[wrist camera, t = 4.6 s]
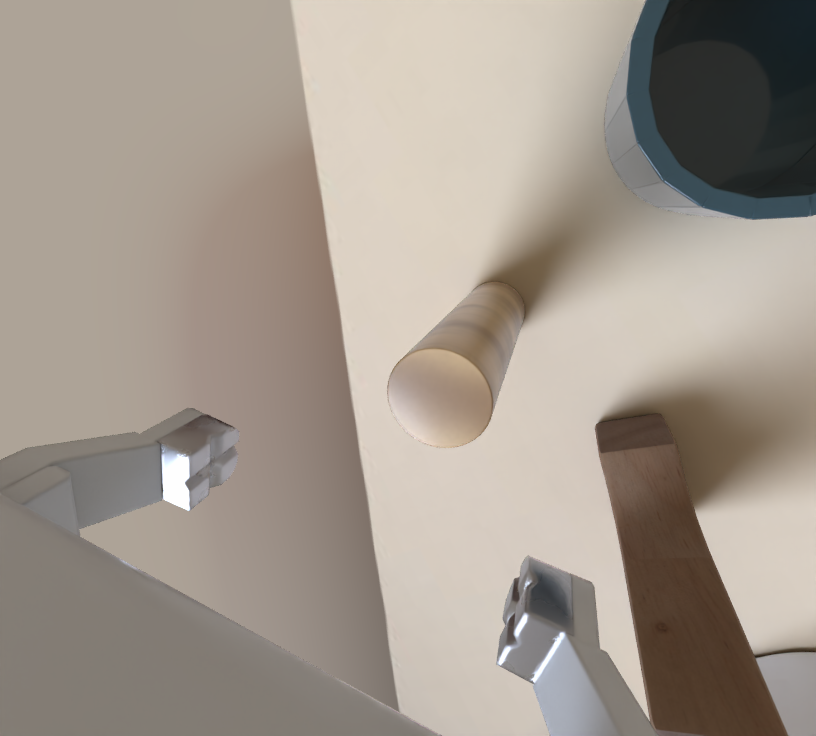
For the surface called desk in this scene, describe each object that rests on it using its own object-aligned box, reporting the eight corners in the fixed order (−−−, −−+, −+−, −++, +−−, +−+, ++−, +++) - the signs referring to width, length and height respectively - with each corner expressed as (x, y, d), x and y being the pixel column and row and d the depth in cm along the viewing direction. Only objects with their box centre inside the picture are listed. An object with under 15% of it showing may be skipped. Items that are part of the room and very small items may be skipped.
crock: (773, 237, 24) (895, 255, 15) (573, 187, 27) (578, 177, 18) (923, -17, 19) (1227, -203, 11) (661, -51, 22) (730, -226, 13)
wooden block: (593, 421, 31) (626, 643, 15) (661, 410, 30) (778, 649, 14) (619, 521, 33) (672, 807, 18) (685, 516, 32) (810, 832, 16)
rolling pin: (512, 348, 31) (473, 463, 17) (457, 329, 32) (377, 425, 18) (533, 292, 30) (508, 370, 15) (474, 273, 30) (399, 332, 16)
